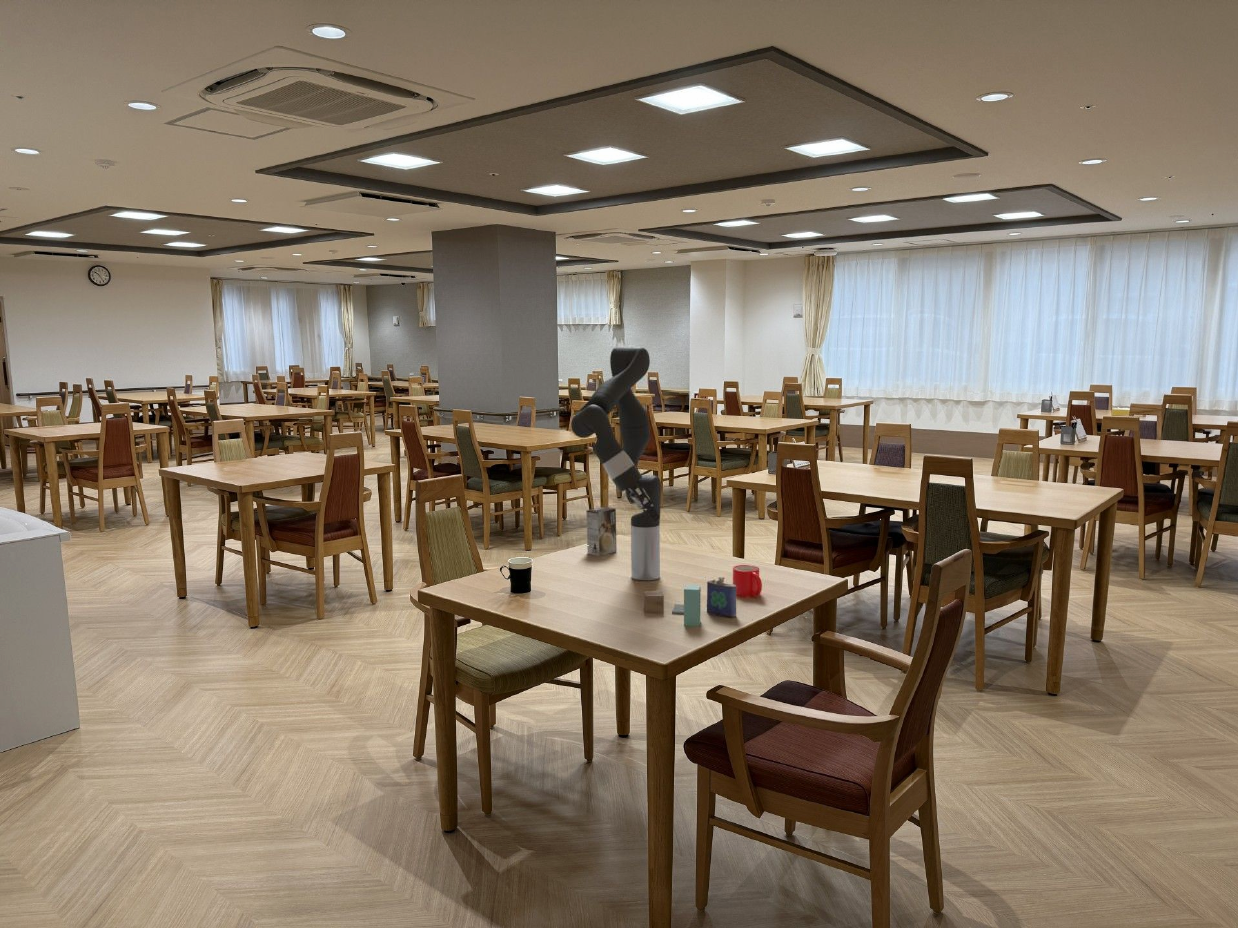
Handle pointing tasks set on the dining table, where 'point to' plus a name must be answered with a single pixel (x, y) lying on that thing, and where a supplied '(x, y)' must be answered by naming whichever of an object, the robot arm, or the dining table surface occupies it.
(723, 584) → the flask
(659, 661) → the dining table surface
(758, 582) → the mug
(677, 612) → the slate coaster
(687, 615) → the teal post
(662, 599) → the walnut block
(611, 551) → the coffee box
